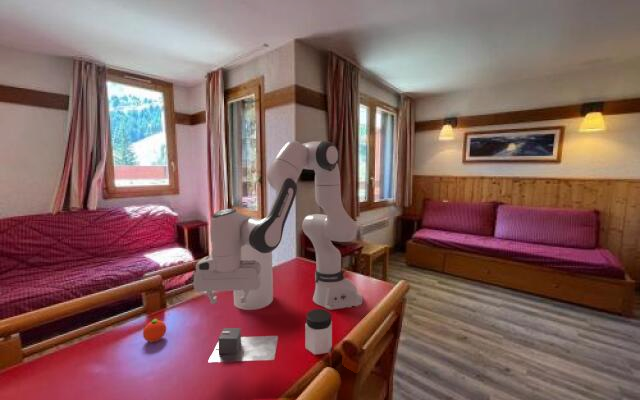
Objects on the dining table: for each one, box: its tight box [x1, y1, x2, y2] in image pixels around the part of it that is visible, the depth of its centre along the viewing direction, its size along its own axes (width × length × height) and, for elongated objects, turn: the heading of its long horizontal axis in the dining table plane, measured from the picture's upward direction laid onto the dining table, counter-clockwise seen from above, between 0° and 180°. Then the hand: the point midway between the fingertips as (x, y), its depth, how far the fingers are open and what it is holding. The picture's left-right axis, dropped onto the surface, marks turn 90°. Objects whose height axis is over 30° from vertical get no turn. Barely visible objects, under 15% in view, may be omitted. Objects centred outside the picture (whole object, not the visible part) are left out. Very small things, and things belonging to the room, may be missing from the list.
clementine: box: [142, 318, 167, 343], centre depth 95 cm, size 8×7×7 cm
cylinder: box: [233, 245, 274, 311], centre depth 122 cm, size 17×17×28 cm
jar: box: [304, 308, 333, 356], centre depth 90 cm, size 9×8×12 cm
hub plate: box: [207, 335, 279, 363], centre depth 89 cm, size 20×12×4 cm, turn 93°
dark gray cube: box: [218, 327, 242, 354], centre depth 88 cm, size 6×6×6 cm
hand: (228, 302), depth 87 cm, fingers open, 8 cm apart
